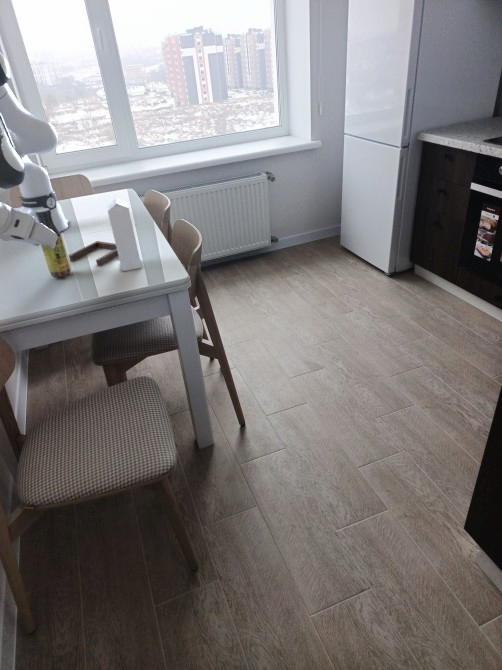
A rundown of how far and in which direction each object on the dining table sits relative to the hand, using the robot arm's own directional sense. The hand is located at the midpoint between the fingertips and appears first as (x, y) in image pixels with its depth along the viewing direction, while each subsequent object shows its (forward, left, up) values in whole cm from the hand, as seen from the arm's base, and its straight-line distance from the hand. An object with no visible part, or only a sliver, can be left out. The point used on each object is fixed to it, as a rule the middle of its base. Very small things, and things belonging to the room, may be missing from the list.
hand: (45, 244), depth 139 cm
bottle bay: (0, +18, -11) cm, 21 cm away
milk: (+17, +15, -11) cm, 25 cm away
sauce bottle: (0, +2, -11) cm, 11 cm away
